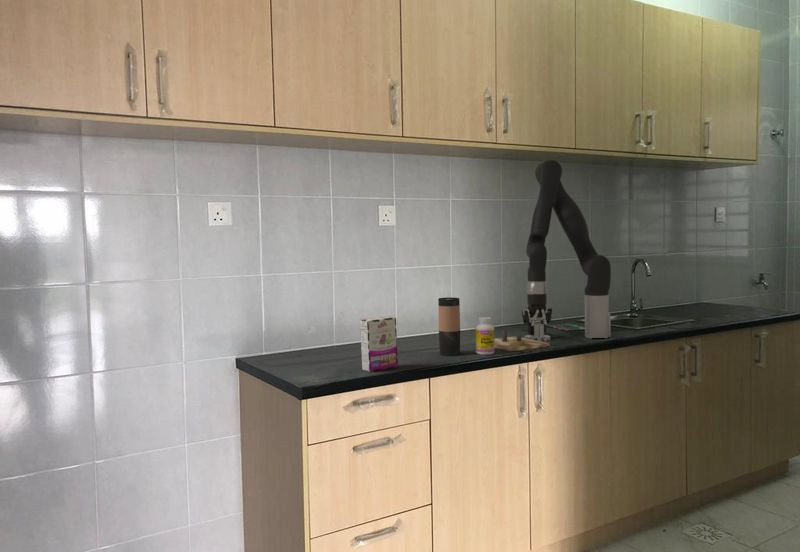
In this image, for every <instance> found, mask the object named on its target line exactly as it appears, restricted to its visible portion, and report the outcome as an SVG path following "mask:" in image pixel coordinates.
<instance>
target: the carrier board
mask: <svg viewBox="0 0 800 552" xmlns="http://www.w3.org/2000/svg"><path fill="white" fill-rule="evenodd" d="M547 346H549V347H550V342H547V341H536V340H531V339H526V338H525V337H522V335H521V334H517V335H515V336H514V335H513V336H508V332H507V330H506V329H502V330H501V337H497V338H496V337H494V349H500V350H504V351H508V352H515V351H516V352H517V351H524V350H532V349H538V348H539V349H540V347H541V348H547Z"/></svg>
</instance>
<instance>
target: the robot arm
mask: <svg viewBox="0 0 800 552" xmlns="http://www.w3.org/2000/svg"><path fill="white" fill-rule="evenodd" d="M534 172H535V173H534V175H535V178H536V181H537V183H538V184H539V186H540V188H539V193H538V198H537V202H536V205H535V208H534V211H533V214H532V220H531V226H530V227H531V228H530V233H529V236H528V240H527V244H526V252H525V253H526V256H527V257H528V258H529V260H528V261H529V262H528V263H529V264H528V265H529V266H528V269H527V288H526V293H527V294H526V295H527V296H526V299H527V305H528V306H527V309H522V310H521V315H522V320H523V324H524V325H526V326H527V329H528V335H531V336H533V335H534V326H533V325H534V323H536V320H537V319H538V320H539V323H543V324H544V335H546V333H547V324H550V323H551V320H552V315H553V308H551V307H547V306H546V305H547V302H548V301H547V282H546V281H547V278H546V274H547V273H546V268H547V260H548V252H547V251H548V250H547V248H546V246H545V244H546V243H545V242H546V238H547V236H548V234H549V231H550V226H551V218H552V213H553V211H554V213H555V215H556V218H557V220H558V222H559V223H560V226H561V227H562V230H563V231H564V233H565V235H566V236H567V238H568V241H569V242H570V244H571V246H572V247H573V249H574V251H575V254H576V256H577V259H578V262H579V265H580V267H581V269H582V271H583V273H584V274H585V275H586V276H587V282H586V286H585V287H584V337H585V338H586V339H592V338H605V339H609V338H611V337H612V336H611V335H612V334H611V333H612V332H611V327H612V326H611V325H612V324H611V318H612V317H611V316H612V315H611V313H609V307H610V306H609V304H610V303H609V299H610V298H609V296H610V295H609V294H610V293H609V291H610V288H611V280H612V279H611V278H612V277H611V275H612V273H611V270H612V269H611V268H612V267H611V262H610V260H609V258H607V257H606V256H605V255H602V254H598V252H597V250H596V249H595V247H594V246H593V243H592V241H591V238H590V235H589V234H590V233H589V228H588V224H587V222H586V218H585V217H584V214H583V213H582V211H581V209H580V207H579V206H578V204H577V203H576V202H575V201H574V199H573V198H572V197H571V196H570V195H569V194H568V192H567V191H566V189H565V188H564V185H563V184H562V181H561V178H562V174H563V168H562V165H561V164H560V162H558V161H557V160H554V159H548V160H545V161H543V162H541V163H539V164H538V165H537V166H536V168H535V171H534ZM608 337H609V338H608Z"/></svg>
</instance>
